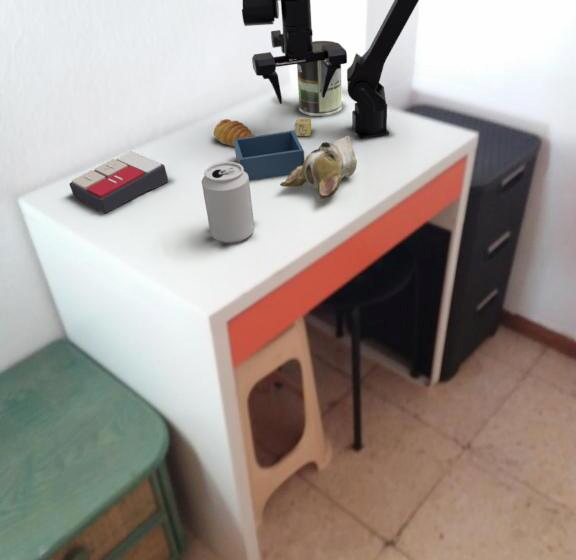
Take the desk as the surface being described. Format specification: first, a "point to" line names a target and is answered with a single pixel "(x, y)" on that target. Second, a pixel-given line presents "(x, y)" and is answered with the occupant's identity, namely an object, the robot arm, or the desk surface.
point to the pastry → (231, 131)
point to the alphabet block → (303, 127)
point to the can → (228, 202)
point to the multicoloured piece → (118, 181)
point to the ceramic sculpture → (325, 167)
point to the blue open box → (269, 154)
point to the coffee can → (318, 87)
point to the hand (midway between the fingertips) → (301, 100)
